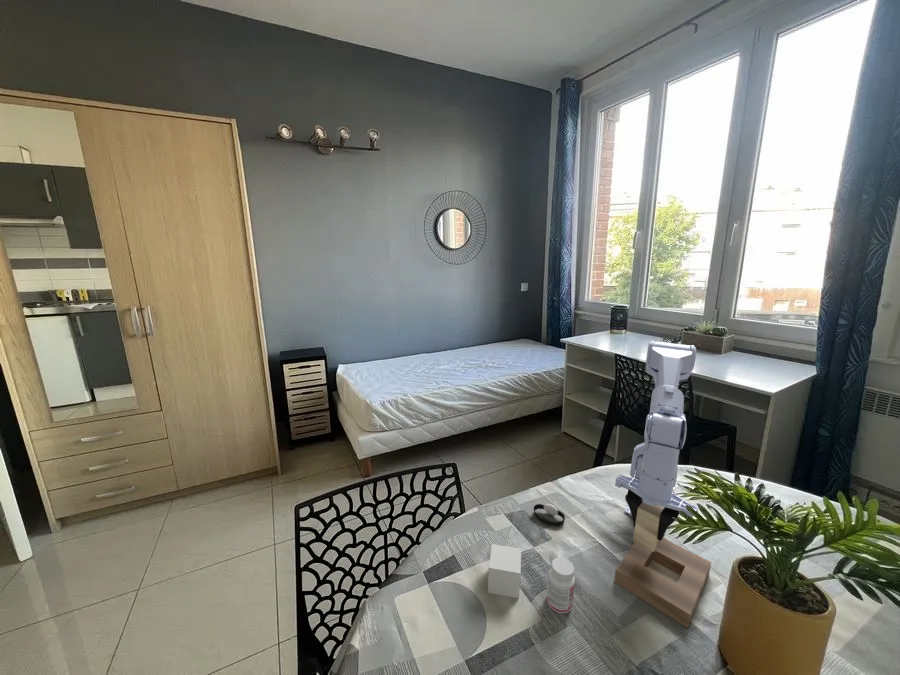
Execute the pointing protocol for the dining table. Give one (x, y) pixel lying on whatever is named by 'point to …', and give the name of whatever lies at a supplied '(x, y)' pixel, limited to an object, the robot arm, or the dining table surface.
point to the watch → (550, 510)
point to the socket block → (665, 578)
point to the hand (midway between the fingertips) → (648, 531)
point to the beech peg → (647, 526)
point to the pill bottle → (561, 585)
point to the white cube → (504, 571)
